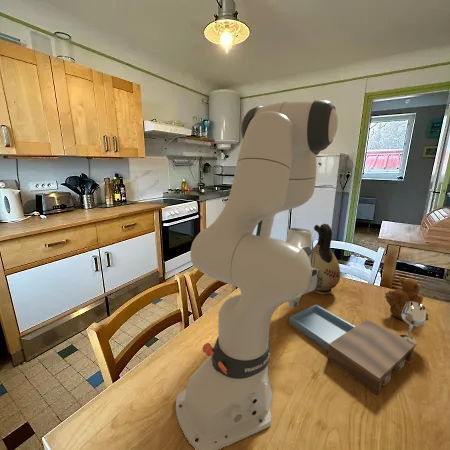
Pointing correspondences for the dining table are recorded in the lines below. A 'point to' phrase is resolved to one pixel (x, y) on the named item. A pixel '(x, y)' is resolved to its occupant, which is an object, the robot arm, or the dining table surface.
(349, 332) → the wooden drawer box
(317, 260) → the ceramic jug
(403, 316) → the wineglass
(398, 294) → the stuffed squirrel
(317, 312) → the tray
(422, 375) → the dining table surface
